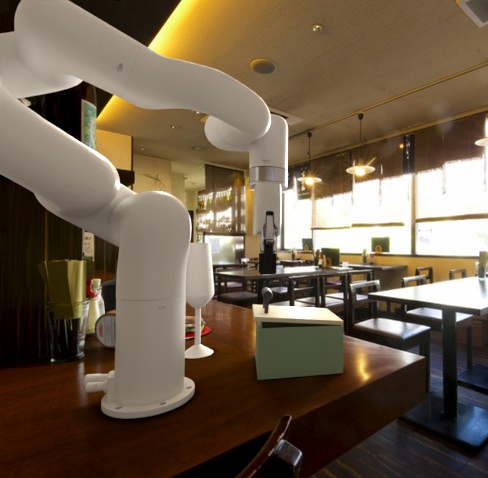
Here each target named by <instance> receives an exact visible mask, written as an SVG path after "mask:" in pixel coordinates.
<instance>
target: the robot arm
mask: <svg viewBox="0 0 488 478" xmlns="http://www.w3.org/2000/svg"><path fill="white" fill-rule="evenodd" d="M13 21H14V22H13V23H14V24H13V25H14V26H13V27H14V28H13V29H14V30H13V31H9V32H1V33H0V175H1V176H3V177H5V178H7V179H8V180H11V181H12V182H13V183H15V184H18V185H20V186H22V187H23V188H25V189H26V190H29V191H30V192H32V193H33V194H34V196H35V198H36V199H37V201H38V202H39V203H40V205H42V207H44V209H46V210H48V212H50V213H52V214H54V215H55V216H57V217H59V218H61V219H62V220H64V221H66V222H68V223H70V224H72V225H74V226H76V227H78V228H80V229H82V230H84V231H86V232H88V233H90V234H92V235H94V236H96V237H98V238H100V239H101V240H104V241H106V242H108V243H109V244H112V245H114V246H116V247H118V257H117V265H116V277H115V278H116V334H115V348H114V370H110V371H109V372H108V373H89V374H88V373H87V374H86V375H85V376H84V378H83V381H82V386H83V389H84V392H85V393H86V394H89V393H91V394H92V393H97V392H102V393H103V394H104V395H103V396H102V397H101V400H100V401H101V402H100V410H101V412H102V413H103V414H104V415H106V416H108V417H111V418H115V419H121V420H122V419H123V420H130V419H132V420H133V419H134V420H135V419H143V418H148V417H153V416H158V415H161V414H165V413H167V412H171V411H173V410H175V409H178V408H180V407H182V406H183V405H184V404H186V403H188V401H190V400H191V399H192V398H193V396H194V394H195V390H196V386H195V382H194V380H192V379H191V378H189V377H186V376H185V366H186V365H185V363H186V358H185V351H186V338H185V316H186V311H187V309H186V307H187V306H186V304H187V302H186V268H187V259H188V252H189V246H190V243H191V239H192V228H193V227H192V219H191V215H190V212H189V210H188V209H187V207H186V205H185V204H184V203H183V202H182V201H181V200H180V199H179V198H178V197H176V196H175V195H174V194H171V193H169V192H165V191H162V190H147V191H142V192H138V193H137V192H135V191H134V190H132V189H130V188H129V187H127V186H126V185H124V184H123V183H121V179H120V175H119V173H118V170H117V168H116V167H115V166H114V164H113V163H112V162H111V161H110V159H108V158H107V157H105V156H104V155H102V154H101V153H99V152H98V151H96V150H94V149H93V148H92V147H90V146H88V145H87V144H84V143H83V142H81V141H79V140H78V139H77V138H75V137H74V136H72V135H70V134H69V133H67V132H66V131H64V130H62V129H61V128H60V127H58V126H56V125H55V124H53V123H51V122H50V121H48V120H47V119H46V118H43V117H42V116H41V115H40V114H38V113H37V112H35V111H34V110H33V109H31V108H30V107H28V106H27V105H25V103H23V102H22V101H21V100H19V99H25V98H30V97H35V96H41V95H46V94H51V93H57V92H60V91H64V90H68V89H70V88H73V87H76V86H78V85H80V84H81V83H82V82H85V83H88V84H90V85H92V86H94V87H96V88H98V89H100V90H103V91H104V92H107V93H109V94H111V95H113V96H116V97H117V98H120V99H121V100H123V101H126V102H128V103H129V104H131V105H133V106H135V107H138V108H141V109H143V110H144V109H145V110H172V109H183V110H189V111H195V112H199V113H202V114H204V115H208V117H207V119H206V121H205V122H204V134H205V137H206V138H207V140H208V142H209V143H210V144H211V145H213V146H214V147H215V148H217V149H219V150H223V151H226V152H244V153H248V157H249V158H248V188H250V189H253V202H252V203H253V205H252V218H253V219H252V237H254V238H257V237H258V235H259V253H258V273H259V275H261V276H263V275H264V276H265V275H266V276H268V275H270V276H271V275H273V276H274V275H276V274H277V260H278V259H277V256H278V255H277V253H276V252H277V237H280V235H281V231H282V230H281V229H282V211H283V210H282V206H283V205H282V204H283V197H282V196H283V195H282V194H283V193H282V191H284V190H287V189H288V181H289V177H288V176H289V173H288V167H289V166H288V165H289V164H288V163H289V162H288V161H289V126H288V125H289V124H288V122H287V120H286V119H285V118H284V117H282V116H281V115H278V114H275V113H271V111H270V109H269V106H268V105H267V103H266V102H265V101H264V99H263V98H262V97H261V96H260V95H259V94H257V93H256V92H255V91H254V90H253V89H251V88H250V87H248V86H247V85H245V84H244V83H242V82H241V81H239V80H237V79H235V78H234V77H233V76H231V75H229V74H227V73H225V72H223V71H221V70H219V69H216V68H214V67H210V66H207V65H203V64H199V63H195V62H191V61H186V60H183V59H177V58H172V57H168V56H164V55H162V54H160V53H158V52H156V51H154V50H153V49H152V48H150V47H148V46H146V45H144V44H142V43H141V42H139V41H138V40H137V39H135V38H133V37H131V36H129V35H127V34H126V33H124V32H122V31H121V30H119V29H117V28H116V27H114V26H113V25H110V24H109V23H108V22H106V21H104V20H102V19H101V18H99V17H98V16H95V15H94V14H92V13H91V12H89V11H87V10H85V9H84V8H82V7H81V6H79V5H77V4H75V3H74V2H72V1H71V0H20V1H19V3H18V5H17V7H16V10H15V13H14V20H13Z"/></svg>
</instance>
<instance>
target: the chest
mask: <svg viewBox="0 0 488 478" xmlns="http://www.w3.org/2000/svg"><path fill="white" fill-rule="evenodd" d="M254 336H255V341H254V342H255V344H254V347H255V348H254V349H255V350H254V352H255V353H254V358H255V367H256V379H257V381H263V380H277V379H289V378H300V377H311V376H324V375H325V376H326V375H336V374H344V324H343V325H329V324H306V323H283V322H260V321H255V335H254Z"/></svg>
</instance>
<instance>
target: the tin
mask: <svg viewBox="0 0 488 478" xmlns="http://www.w3.org/2000/svg"><path fill="white" fill-rule="evenodd" d="M115 334H116V310H112V311H109V312H107V313H105V312H104V313H103V314H101V315H100V316H99V317H98V318H97V319H96V320H95V322H94V336H95V339H96V341H97V342H98V343H99V344H100V345H101V346H103V347H104V348H109V349H115Z"/></svg>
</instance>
